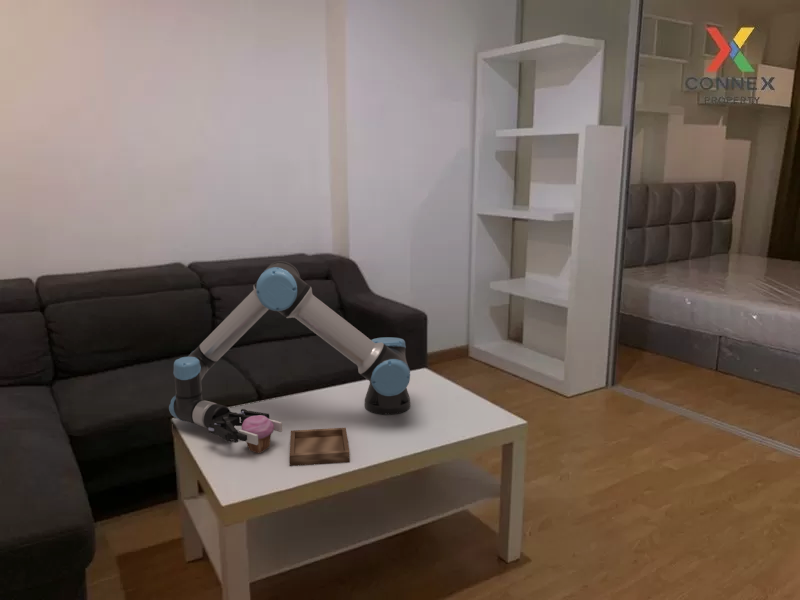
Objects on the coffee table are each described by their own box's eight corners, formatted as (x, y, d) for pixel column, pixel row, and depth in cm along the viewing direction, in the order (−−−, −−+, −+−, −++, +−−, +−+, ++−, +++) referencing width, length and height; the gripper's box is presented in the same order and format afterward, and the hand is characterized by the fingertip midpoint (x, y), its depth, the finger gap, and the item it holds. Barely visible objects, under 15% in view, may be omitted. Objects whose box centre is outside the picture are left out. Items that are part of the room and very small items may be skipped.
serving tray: (346, 436, 190) (345, 427, 189) (349, 462, 174) (349, 452, 173) (291, 440, 187) (290, 430, 187) (289, 466, 172) (289, 455, 171)
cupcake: (260, 459, 175) (259, 425, 173) (235, 452, 179) (233, 419, 177) (280, 446, 183) (279, 413, 181) (256, 440, 187) (254, 408, 185)
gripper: (240, 415, 199) (295, 432, 187) (183, 441, 181) (241, 461, 169) (238, 392, 197) (295, 408, 186) (181, 416, 179) (240, 435, 168)
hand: (269, 433), depth 178 cm, fingers closed on cupcake, 9 cm apart
